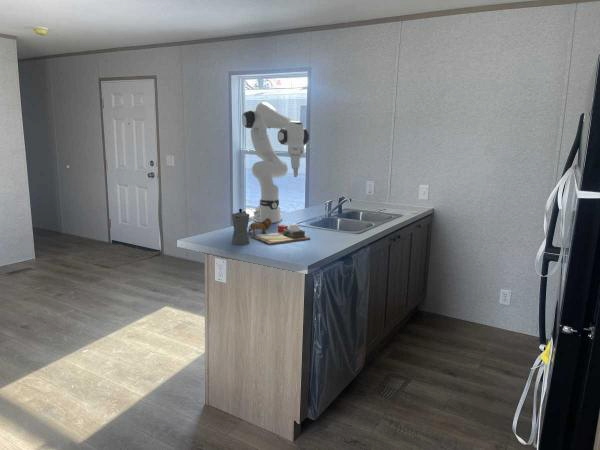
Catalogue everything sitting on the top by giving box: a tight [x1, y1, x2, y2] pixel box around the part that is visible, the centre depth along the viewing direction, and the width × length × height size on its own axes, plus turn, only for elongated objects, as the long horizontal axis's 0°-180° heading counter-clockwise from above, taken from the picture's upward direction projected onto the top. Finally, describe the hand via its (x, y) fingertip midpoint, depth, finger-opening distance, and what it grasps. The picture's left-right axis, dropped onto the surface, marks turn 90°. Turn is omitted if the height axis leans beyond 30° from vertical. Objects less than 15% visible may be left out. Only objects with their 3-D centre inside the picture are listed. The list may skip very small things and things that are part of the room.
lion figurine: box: [247, 218, 272, 236], centre depth 249 cm, size 15×5×9 cm, turn 115°
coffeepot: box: [231, 208, 250, 246], centre depth 227 cm, size 15×9×18 cm, turn 171°
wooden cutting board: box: [250, 229, 311, 246], centre depth 240 cm, size 19×26×4 cm
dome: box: [288, 223, 301, 232], centre depth 243 cm, size 6×6×6 cm
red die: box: [277, 224, 289, 233], centre depth 255 cm, size 4×4×4 cm
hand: (295, 176), depth 246 cm, fingers open, 8 cm apart
